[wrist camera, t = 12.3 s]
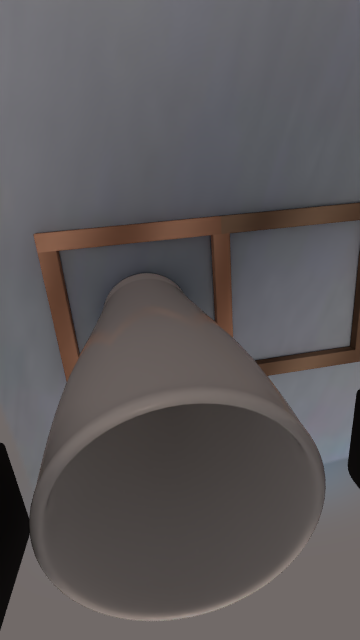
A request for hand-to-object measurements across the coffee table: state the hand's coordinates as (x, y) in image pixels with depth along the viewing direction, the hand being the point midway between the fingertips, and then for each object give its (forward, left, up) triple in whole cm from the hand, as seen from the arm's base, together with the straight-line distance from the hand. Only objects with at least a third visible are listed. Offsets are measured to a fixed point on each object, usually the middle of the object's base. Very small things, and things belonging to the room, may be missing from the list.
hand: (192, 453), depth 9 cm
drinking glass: (0, 0, -13) cm, 13 cm away
